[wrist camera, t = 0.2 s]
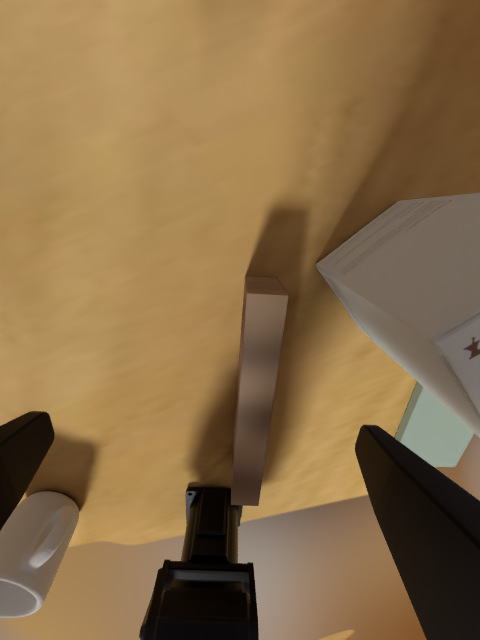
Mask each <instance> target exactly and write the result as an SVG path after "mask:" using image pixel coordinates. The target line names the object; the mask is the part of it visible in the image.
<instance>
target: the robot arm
mask: <svg viewBox="0 0 480 640" xmlns="http://www.w3.org/2000/svg"><path fill="white" fill-rule="evenodd" d="M54 435H55V434H54V429H53V426H52V422H51V419H50V416H49V414H48V413H47V412H41V411H31V412H28V413H26V414H24V415H22V416H20V417H18V418H16V419H14V420H12V421H10V422H8V423H6V424H4V425H2V426H0V531H1V529H2V528H3V526H4V525H5V523H6V522H7V520H8V519H9V517H10V516H11V514H12V513H13V511H14V509H15V508H16V506H17V505H18V503H19V502H20V500H21V498H22V497H23V495H24V493H25V491H26V490H27V488H28V486H29V484H30V483H31V481H32V479H33V477H34V475H35V474H36V472H37V470H38V468H39V466H40V465H41V463H42V461H43V459H44V457H45V456H46V454H47V452H48V450H49V448H50V447H51V445H52V443H53V440H54ZM355 452H356V456H357V459H358V462H359V466H360V469H361V472H362V475H363V478H364V482H365V485H366V488H367V491H368V494H369V497H370V501H371V504H372V507H373V509H374V513H375V515H376V517H377V520H378V523H379V525H380V528H381V530H382V532H383V535H384V537H385V540H386V542H387V545H388V547H389V549H390V552H391V554H392V557H393V559H394V562H395V564H396V566H397V569H398V571H399V573H400V576H401V578H402V581H403V583H404V586H405V588H406V591H407V593H408V595H409V598H410V600H411V603H412V605H413V607H414V610H415V612H416V615H417V617H418V619H419V622H420V624H421V627H422V629H423V632H424V634H425V637H426V639H427V640H480V501H479V500H478V499H476V498H475V497H474V496H472V495H471V494H469V493H468V492H467V491H466V490H464V489H463V488H461V487H460V486H459V485H458V484H456V483H455V482H453V481H452V480H451V479H449V478H448V477H447V476H445V475H444V474H443V473H441V472H440V471H439V470H437V469H436V468H435V467H433V466H432V465H430V464H429V463H428V462H426V461H425V460H424V459H422V458H421V457H420V456H418V455H417V454H416V453H414V452H413V451H411V450H410V449H409V448H407V447H406V446H405V445H403V444H402V443H401V442H399V441H398V440H397V439H395V438H394V437H393V436H391V435H390V434H388V433H387V432H386V431H384V430H383V429H382V428H380V427H379V426H377V425H363V426H362V427H361V428H360V431H359V435H358V438H357V441H356V444H355ZM241 508H242V505H231V489H213V488H188V489H187V490H186V519H187V527H186V533H185V539H184V545H183V551H182V557H181V561H170V560H165V561H164V564H163V568H161V569H159V570H158V574H157V579H156V582H155V587H154V591H153V594H152V598H151V600H150V603H149V606H148V609H147V612H146V615H145V617H144V620H143V623H142V626H141V630H140V635H139V637H140V639H141V640H258V616H257V603H256V592H255V580H254V568H253V563H249V562H248V563H247V564H241V563H238V527H239V526H240V518H241Z"/></svg>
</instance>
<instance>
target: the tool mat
mask: <svg viewBox="0 0 480 640" xmlns="http://www.w3.org/2000/svg"><path fill="white" fill-rule="evenodd" d="M473 434H474V432H473V431H472V430H471V429H470V428H469V427H468V426H466V425H465V424H464V423H463V422H462V421H461V420H460V419H458V418H457V417H456V416H455V415H454V414H453V413H452V412H451V411H450V410H449V409H447V408H446V407H445V406H444V405H443V404H442V403H441V402H440V401H439V400H437V399H436V398H435V397H434V396H433V395H432V394H431V393H430V392H429V391H427V390H426V389H425V388H424V387H423V386H422V385H421V384H420V383H419V382H417V384H416V387H415V389H414V391H413V394H412V396H411V399H410V401H409V404H408V406H407V409H406V411H405V413H404V416H403V418H402V421H401V423H400V426H399V428H398V431H397V433H396V435H395V439H397V440H398V441H399V442H401V443H402V444H403V445H405V446H406V447H407V448H409V449H410V450H411V451H413V452H414V453H416V454H417V455H418V456H420V457H421V458H422V459H424V460H425V461H426V462H428V463H429V464H430V465H432V466H439V467H455V466H456V464H457V462H458V461H459V459H460V457H461V455H462V454H463V452H464V450H465V448H466V447H467V445H468V443H469V441H470V440H471V438H472V436H473Z"/></svg>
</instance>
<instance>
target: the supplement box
mask: <svg viewBox="0 0 480 640" xmlns="http://www.w3.org/2000/svg"><path fill="white" fill-rule="evenodd" d="M315 267H316V268H317V269H318V271H319V272H320V274H321V275H322V277H323V278H324V279H325V281H326V282H327V284H328V285H329V287H330V288H331V289H332V291H333V292H334V294H335V295H336V297H337V298H338V300H339V301H340V302H341V304H342V305H343V307H344V308H345V309H346V311H347V312H348V314H349V315H350V317H351V318H352V319H353V321H354V322H355V324H356V325H357V326H358V328H359V329H360V330H361V331H362V332H363V333H364V334H366V335H367V336H368V337H369V338H370V339H371V340H372V341H373V342H375V343H376V344H377V345H378V346H379V347H380V348H381V349H382V350H383V351H384V352H385V353H387V354H388V355H389V356H390V357H391V358H392V359H393V360H394V361H396V362H397V363H398V364H399V365H400V366H401V367H402V368H403V369H404V370H406V371H407V372H408V373H409V374H410V375H411V376H412V377H413V378H414V379H415V380H416V381H417V382H419V383H420V384H421V385H422V386H423V387H424V388H425V389H426V390H427V391H429V392H430V393H431V394H432V395H433V396H434V397H435V398H436V399H437V400H439V401H440V402H441V403H442V404H443V405H444V406H445V407H446V408H447V409H449V410H450V411H451V412H452V413H453V414H454V415H455V416H456V417H457V418H458V419H460V420H461V421H462V422H463V423H464V424H465V425H466V426H468V427H469V428H470V429H471V430H472V431H473V432H474V433H475V434H476V435H477V436H479V437H480V192H479V193H469V194H459V195H449V196H441V197H430V198H419V199H409V200H399V201H397V202H396V203H395V204H394V205H392V206H391V207H390V208H388V209H387V210H386V211H384V212H383V213H382V214H380V215H379V216H378V217H376V218H375V219H374V220H373V221H371V222H370V223H369V224H367V225H366V226H365V227H363V228H362V229H361V230H360V231H358V232H357V233H356V234H354V235H353V236H352V237H351V238H349V239H348V240H347V241H345V242H344V243H343V244H341V245H340V246H339V247H338V248H336V249H335V250H334V251H332V252H331V253H330V254H329V255H327V256H326V257H325V258H323V259H322V260H321V261H320V262H318V263H317V264H316V265H315Z"/></svg>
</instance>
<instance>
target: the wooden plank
mask: <svg viewBox="0 0 480 640" xmlns="http://www.w3.org/2000/svg"><path fill="white" fill-rule="evenodd" d="M287 303H288V294H287V293H286V291H285V289H284V288H283V286H282V284H281V283H280V281H279V280H278V278H276V277H260V276H245V285H244V299H243V313H242V327H241V341H240V355H239V369H238V383H237V397H236V411H235V425H234V438H233V452H232V481H231V505H246V506H258V504H259V497H260V490H261V483H262V477H263V470H264V463H265V456H266V449H267V442H268V435H269V428H270V421H271V414H272V407H273V400H274V393H275V386H276V379H277V372H278V366H279V359H280V352H281V345H282V338H283V331H284V324H285V317H286V310H287Z"/></svg>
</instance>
